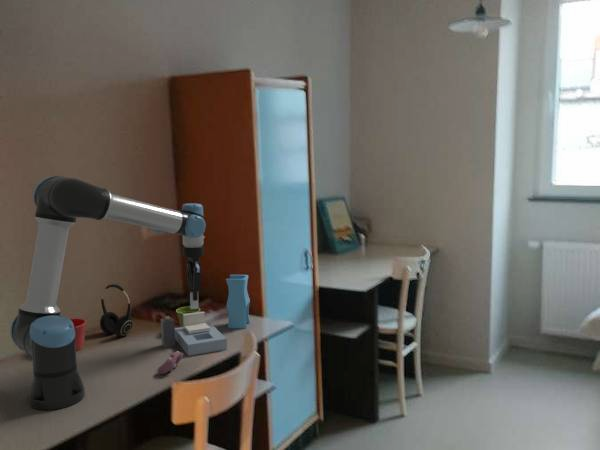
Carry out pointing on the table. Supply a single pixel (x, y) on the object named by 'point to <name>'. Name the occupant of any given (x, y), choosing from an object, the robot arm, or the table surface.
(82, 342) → the flower pot
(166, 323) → the plug
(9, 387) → the table surface
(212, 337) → the socket
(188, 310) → the plant pot
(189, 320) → the cream stepped block
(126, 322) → the headphones
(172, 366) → the pink oblong lump
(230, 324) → the vase
